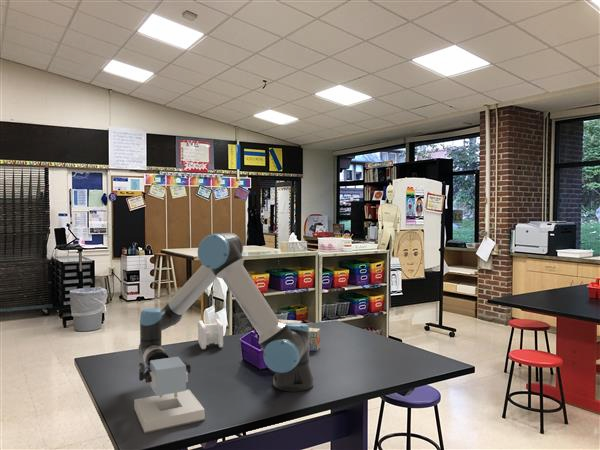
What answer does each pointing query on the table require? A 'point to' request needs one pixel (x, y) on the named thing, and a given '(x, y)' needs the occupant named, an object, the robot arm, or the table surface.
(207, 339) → the cable organizer
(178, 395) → the socket
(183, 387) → the grey-blue block
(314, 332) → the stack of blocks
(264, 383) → the table surface
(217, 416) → the table surface
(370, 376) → the table surface
